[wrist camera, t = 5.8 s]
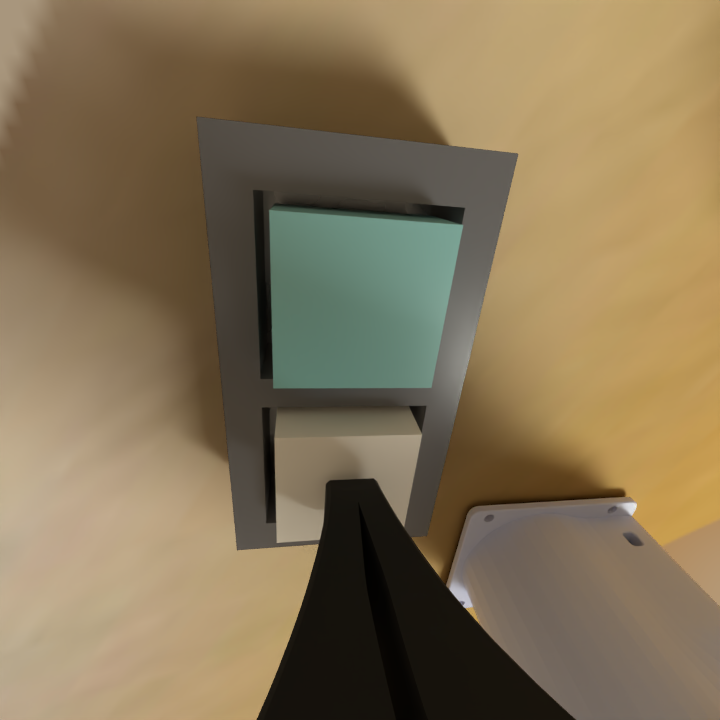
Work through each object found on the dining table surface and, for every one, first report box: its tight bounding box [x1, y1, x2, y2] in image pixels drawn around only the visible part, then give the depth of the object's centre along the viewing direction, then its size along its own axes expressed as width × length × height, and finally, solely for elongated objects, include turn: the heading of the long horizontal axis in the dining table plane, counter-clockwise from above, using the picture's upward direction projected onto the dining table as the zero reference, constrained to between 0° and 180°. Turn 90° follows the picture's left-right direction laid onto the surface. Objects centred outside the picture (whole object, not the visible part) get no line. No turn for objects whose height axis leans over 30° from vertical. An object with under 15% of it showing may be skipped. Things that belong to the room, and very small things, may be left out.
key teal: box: [269, 203, 463, 388], centre depth 9 cm, size 4×4×2 cm
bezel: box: [197, 117, 518, 550], centre depth 11 cm, size 7×12×2 cm, turn 175°
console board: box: [263, 190, 432, 472], centre depth 13 cm, size 7×12×1 cm, turn 175°
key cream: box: [274, 406, 422, 543], centre depth 12 cm, size 4×4×2 cm
